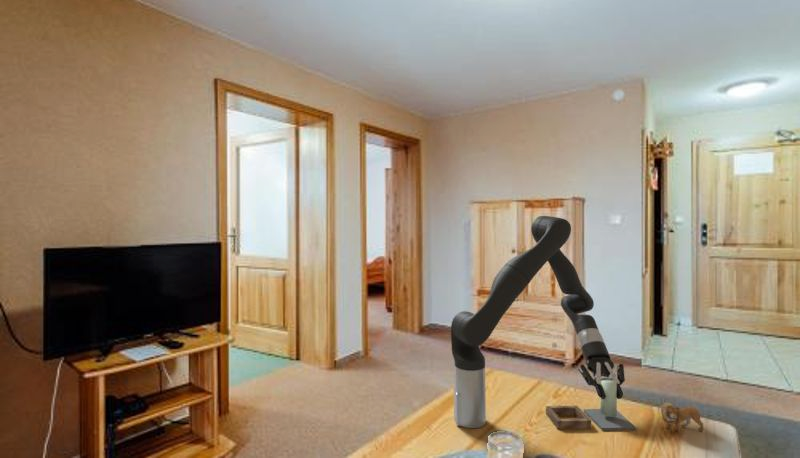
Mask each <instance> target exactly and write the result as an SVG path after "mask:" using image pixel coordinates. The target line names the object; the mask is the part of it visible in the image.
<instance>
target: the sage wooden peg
mask: <svg viewBox="0 0 800 458" xmlns="http://www.w3.org/2000/svg"><path fill="white" fill-rule="evenodd" d="M600 381H601V383H600V385H602V387H603V389H604V392H605V395H606V397H605V399H601V398H600V409H601V414H603V415H605V416H609V417H615V416H617V411H618V409H617V408H618V407H617V406H618V402H617V401H618V399H617V382H616V381H615V380H613V379H610V378H606V377H602V378H600Z"/></svg>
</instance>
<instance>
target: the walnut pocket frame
mask: <svg viewBox="0 0 800 458" xmlns="http://www.w3.org/2000/svg"><path fill="white" fill-rule="evenodd" d="M545 415H546V416H547V417H548V418H549V420H550V422H552V424H553V425H554V426H555V427H556V430H557V431H559V430H563V431H564V430H592V420H591V419H590V418H589V417H588V416H587V415H586V414H585V413H584V410H582V409H581V408H580V407H579V406H578V405H545ZM559 416H575V417H576V418H560V417H559Z"/></svg>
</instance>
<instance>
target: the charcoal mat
mask: <svg viewBox="0 0 800 458" xmlns="http://www.w3.org/2000/svg"><path fill="white" fill-rule="evenodd" d="M582 411H583V412H584V414H585V415H586V416H587V417H588V418H589V419H590V420H591V422H593V423H594V424H595V426H596V427H598V429H600V430H601V431H602V432H603V431H604V432H605V431H608V432H609V431H612V432H613V431H637V426H636V425H635V424H633V423H632V422H631V421H629V420H628V418H626V417H625V416H624V415H623V414H622V413H621V412H619V411H618V410H617V416H615V417H609V416H605V415H603V414H601V408H584V409H583V410H582Z"/></svg>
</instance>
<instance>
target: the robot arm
mask: <svg viewBox="0 0 800 458" xmlns="http://www.w3.org/2000/svg"><path fill="white" fill-rule="evenodd" d="M530 231H531V235H532V237H533V240H534V241H535V243H536V244H534V245H533V246H532V247H530V248H529V249H527V250H526V251H523V252H522V253H520V254H518V255H515V256H514V257H513V258H511V259H509V260H508V261H507V262H506V263H505V264H504V266H503V267H501V268H500V270H499V271H498V272H497V273H496V276H494V279H493V280H492V284H491V287H490V292H489V295H488V297H487V299H486V300H485V302H484V303H483V304H482V305H481V307H480V308H479V309H478V310H477V311H476V312H475V313H474V312H470V311H466V310H465V311H464V310H463V311H460V312H458V313H456V315H454V317H453V319H452V321H451V326H450V339H451V340H450V341H451V354H452V357H453V361H454V387H453V418H454V421H455V424H456V427H463V428H467V429H479V428H482V427H484V426H485V424H487V418H486V417H487V414H486V411H487V410H486V409H487V408H486V405H487V404H486V403H487V402H486V398H487V397H486V358H485V356H484V353H483V352H482V351H481V348H480V346H482V345H484V343H486V342H487V340H488V339H489V338H490V337H491V335H492V333H493V332H494V330H495V329H496V327H497V325H498V324H499V322H500V320H501V319H502V318H503V316H504V315H505V314H506V312H507V311H508V310H509V308H510V307H511V306H512V305H513V303H514V302H515V301H516V299H517V298H519V296H520V295H521V294H522V293H523V292H524V290H525V289H526V287H527V286H528V285H530V283H531V282H532V280H533V279H534V277H535V276H536V275H537V274H538V273H539V271H540V270H541V269H542V268H543V267H544V266H545V264H546V263H547V262H548V264H549V266H550V268H551V270H552V271H553V274H554V276H555V279H556V281H557V283H558V287H559V289H560V291H561V293H563V294H564V295H565V296H562V298H561V300H560V306H561V308H562V310H563V312H564V313H565V314H566V315H567V317H568V318H569V320H570V321H571V322H572V325H573V327H574V331H575V333H576V336H577V340H578V344H579V347H580V350H581V353H582V356H583V358H584V361H585V364H583V363H582V364H580V366H579V367H578V369H577V370H578V371H579V373H580V374H581V376H582V377H583V379H584V381H585V383H586V384H587V385H588V386H593V387H594V388H595V390H596V393H597V396H598V397H599V398H600V400H601V399H605V397H606V395H605V392H604V389H603V387H602V385H600V383H601V381H600V379H601V377H603V378H610V379H613V380H615V381H616V382H617V400H621V399H622V398H623V395H624V393H623V390H622V387H621V386H622V385H623V383H624V382H625V381H626V380H625V379H626V378H625V368H624V364H623V363H619V364H617V363H614V362H613V360H612V359H611V357H610V354H609V353H610V352H609V351H608V349H607V345H606V343H605V341H604V337H603V336H602V334H601V332H600V330H599V327H598V325H597V323H596V322H597V321H596V320H595V318H594V316H592V315H591V314H583V313H587V312H590V311H592V310H593V308H594V306H595V304H594V303H595V301H594V300H593V297H592V296H591V295H590V293H589V292H588V291H587V290H586V289H585V287H584V286H583V284H582V282H581V280H580V278H579V275H578V271H577V269H576V268H575V266H574V264H573V263H572V261H570V259H569V258H568V257H567V256H566V255H565V253H564V252H563V251H562V250H561V248H562V247H563V246H564V245H565V244H566V243H567V241H568V240H569V238H570V236H571V233H572V226H571V223H570V222H569V221H568V220H567V219H566V218H562V217H556V216H551V215H550V216H549V215H540V216H538V217H535V219H534V220H533V221H532V224H531V229H530ZM613 369H614V370H613ZM589 371H590V372H589ZM591 373H592V375H591Z"/></svg>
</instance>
